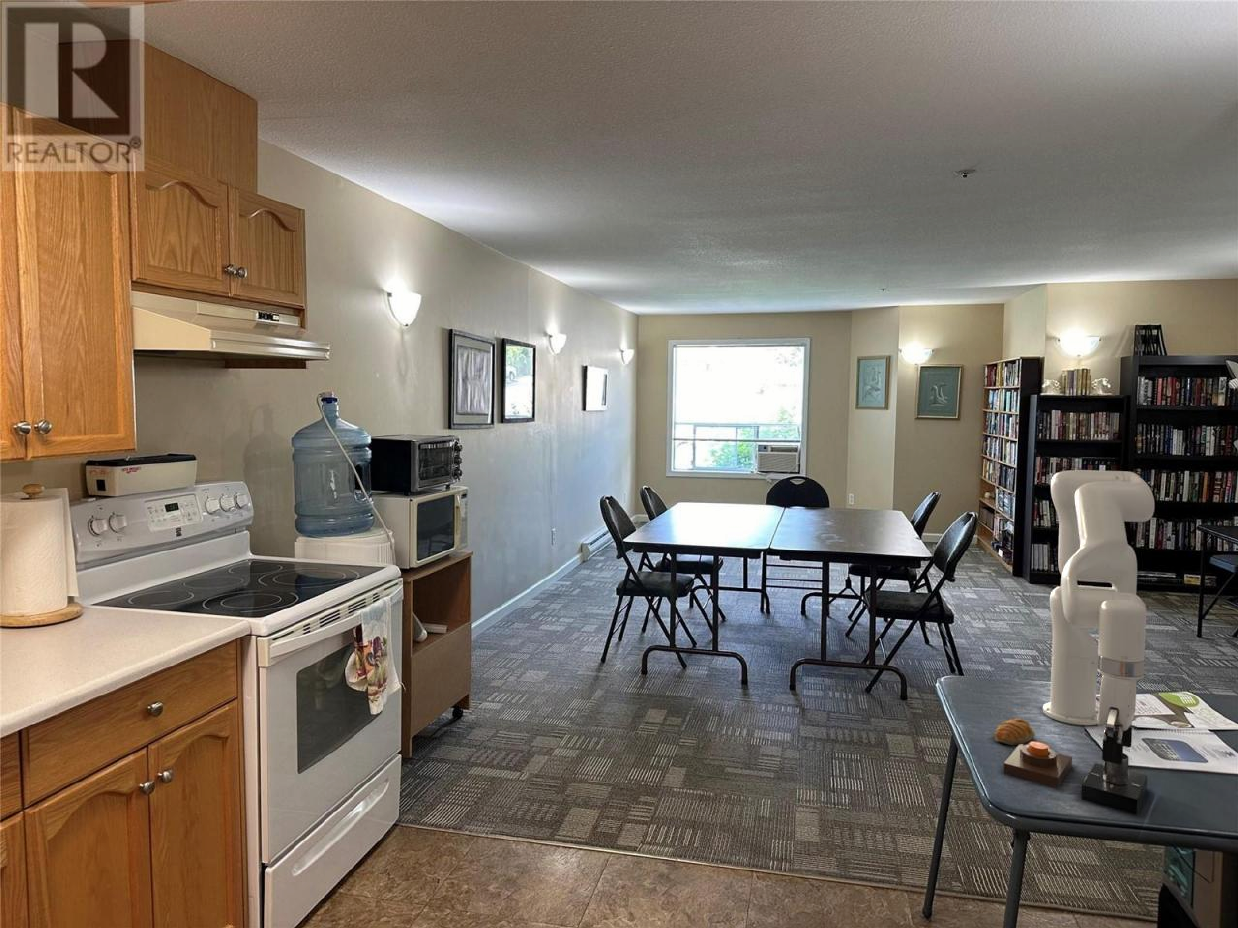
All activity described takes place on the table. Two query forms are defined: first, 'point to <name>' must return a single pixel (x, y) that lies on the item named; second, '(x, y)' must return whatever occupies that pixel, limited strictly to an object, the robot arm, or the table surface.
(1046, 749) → the button
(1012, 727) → the pastry
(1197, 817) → the table surface
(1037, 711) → the table surface
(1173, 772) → the table surface
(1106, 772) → the dial
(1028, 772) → the block
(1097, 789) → the dial panel
